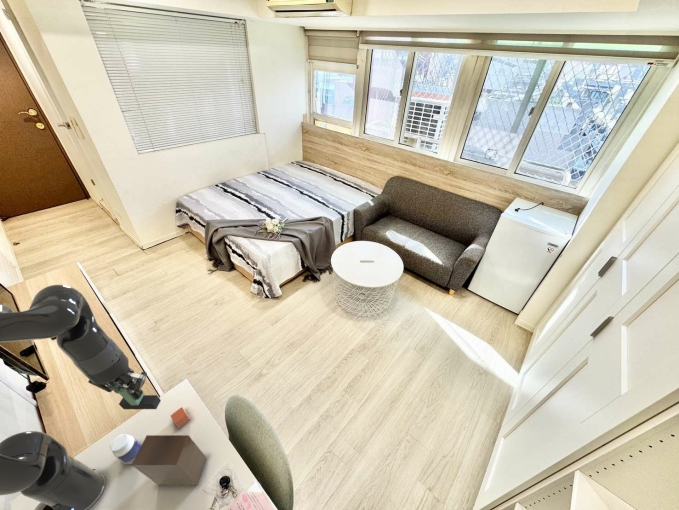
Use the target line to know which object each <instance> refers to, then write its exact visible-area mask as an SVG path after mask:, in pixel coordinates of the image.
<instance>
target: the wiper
mask: <svg viewBox="0 0 679 510" xmlns="http://www.w3.org/2000/svg"><path fill="white" fill-rule="evenodd" d="M132 385H133V384H132ZM132 385H131V386H132ZM119 393H120V394H121V395H120V394H119ZM119 393H118V394H119V395H120V396H121V397H122V398H121V400H120V402H119V403H118V405H119V406H120V407H121V408H122V409H123V410H158V409H157V408H158V407H159V405H160V403H161V398H160V397H159V396H158V395H157V394H145V393H144V392H143V393H142V395H141V397H140V398H139V399H138V400H135V399H134V398H133V397H132V396H131V395H130V393H129V392H128V391H127V390H122V389H120V390H119Z"/></svg>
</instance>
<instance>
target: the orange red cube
mask: <svg viewBox="0 0 679 510" xmlns="http://www.w3.org/2000/svg"><path fill="white" fill-rule="evenodd" d="M170 418H171V421H173V423H174V424H175V426H176V427H177V428H178V429H181V428H182V427H183V426H184V425H186V424H187V423H189V422H190V421H191V418H190V416H189V415H188V413H187V411H186V410H185V409H184V407H183V406H181V407H180V408H178V409H177V410H175V412H173V413H172V414H171V415H170Z"/></svg>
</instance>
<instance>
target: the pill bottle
mask: <svg viewBox="0 0 679 510" xmlns="http://www.w3.org/2000/svg"><path fill="white" fill-rule="evenodd" d="M141 445H142V443H140V442H139V441H138V440H137V439H136V438H135V437H134V436H132V435H128V434H126V433H121V434H119V435H117V436H116V437H114V439H112V441H111V443H110V445H109V448H110V451H111V452H112V455H113V456H114V457H115V458H117V459H118V460H119V461H120V462H122V463H123V464H124V465H132V463H133V461H134V459H135V457H136V455H137V453H138V451H139V449H140V447H141Z"/></svg>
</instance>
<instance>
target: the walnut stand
mask: <svg viewBox="0 0 679 510" xmlns="http://www.w3.org/2000/svg"><path fill="white" fill-rule="evenodd" d="M207 459H208V458H207V456H206V455H205V453H204V452H203V451H202V450H201V449H200V448H199V446H198V445H197V444H196V443H195V441H194V440H193V439H192V437H190V436H189V435H188V434H161V435H160V434H159V435H156V434H155V435H153V434H151V435H150V434H149V435H147V434H146V436H145V438H144V440H143V442H142V443H141V447H140V449H139V451H138V453H137V455H136V457H135V459H134V461H133V463H131V466H132V467H133V468H134V469H136V470H137V471H139V472H140V473H141V474H143V476H146V477H147V478H148V479H149V480H151V481H152V482H154V483H155V484H156V485H158V486H198V485H199V482H200V480H201V476H202V473H203V470H204V467H205V464H206V462H207Z"/></svg>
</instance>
